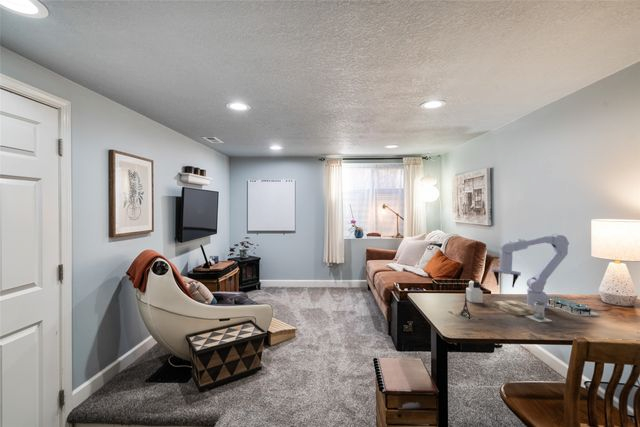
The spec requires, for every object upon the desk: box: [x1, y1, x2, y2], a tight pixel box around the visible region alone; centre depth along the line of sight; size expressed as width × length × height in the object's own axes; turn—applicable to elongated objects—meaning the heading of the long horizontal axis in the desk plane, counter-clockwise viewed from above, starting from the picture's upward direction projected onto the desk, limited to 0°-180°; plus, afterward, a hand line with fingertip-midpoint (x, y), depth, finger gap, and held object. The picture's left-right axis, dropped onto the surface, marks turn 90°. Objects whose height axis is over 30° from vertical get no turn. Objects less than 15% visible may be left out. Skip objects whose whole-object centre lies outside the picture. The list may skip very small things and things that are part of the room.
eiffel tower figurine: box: [447, 292, 472, 321], centre depth 157 cm, size 15×10×13 cm
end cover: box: [533, 301, 546, 320], centre depth 154 cm, size 4×4×8 cm
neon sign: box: [547, 297, 611, 317], centre depth 172 cm, size 21×4×29 cm
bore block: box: [491, 299, 534, 316], centre depth 167 cm, size 16×16×2 cm
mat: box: [524, 314, 553, 323], centre depth 154 cm, size 8×8×1 cm
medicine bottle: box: [465, 280, 484, 304], centre depth 182 cm, size 7×7×12 cm
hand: (505, 285), depth 179 cm, fingers open, 7 cm apart
